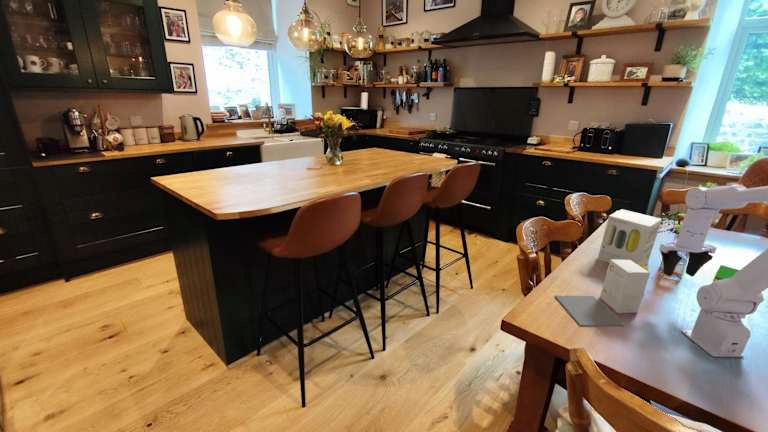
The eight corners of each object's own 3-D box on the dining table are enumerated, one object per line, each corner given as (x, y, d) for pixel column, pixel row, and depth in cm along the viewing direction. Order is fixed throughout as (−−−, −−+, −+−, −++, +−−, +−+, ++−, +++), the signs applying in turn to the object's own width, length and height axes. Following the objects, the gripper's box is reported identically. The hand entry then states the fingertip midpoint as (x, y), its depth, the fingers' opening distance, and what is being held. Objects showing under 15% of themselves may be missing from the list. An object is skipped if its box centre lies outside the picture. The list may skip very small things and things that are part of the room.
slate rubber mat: (623, 326, 96) (624, 325, 95) (580, 325, 95) (580, 324, 95) (593, 297, 109) (593, 296, 109) (554, 296, 108) (555, 295, 108)
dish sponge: (745, 278, 124) (748, 272, 124) (740, 291, 116) (743, 285, 115) (718, 270, 129) (720, 264, 129) (712, 282, 121) (714, 276, 120)
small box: (637, 313, 102) (651, 272, 97) (616, 313, 101) (628, 272, 97) (618, 297, 109) (630, 259, 105) (598, 297, 109) (609, 258, 104)
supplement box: (596, 258, 134) (607, 215, 128) (609, 250, 142) (621, 208, 136) (636, 273, 124) (651, 226, 118) (648, 262, 132) (663, 218, 126)
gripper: (706, 225, 102) (690, 268, 106) (657, 224, 101) (643, 267, 106) (730, 235, 95) (712, 280, 100) (677, 234, 94) (661, 279, 99)
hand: (678, 274), depth 102 cm, fingers open, 6 cm apart
